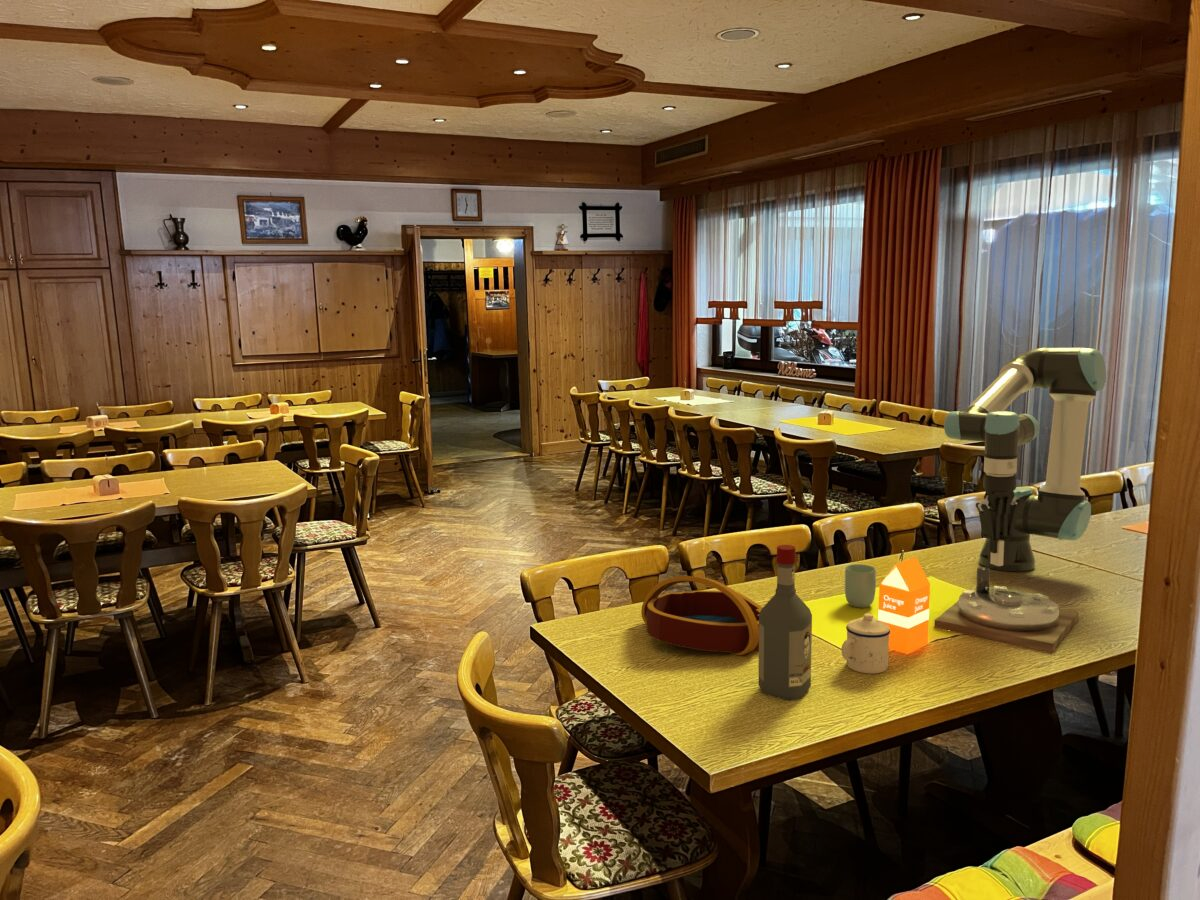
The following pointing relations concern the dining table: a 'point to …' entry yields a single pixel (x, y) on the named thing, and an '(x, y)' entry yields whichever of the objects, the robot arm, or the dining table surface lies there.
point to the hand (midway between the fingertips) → (996, 564)
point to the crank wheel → (1007, 607)
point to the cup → (860, 585)
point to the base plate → (1031, 639)
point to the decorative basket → (702, 617)
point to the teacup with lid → (867, 645)
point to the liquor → (785, 635)
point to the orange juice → (905, 606)
